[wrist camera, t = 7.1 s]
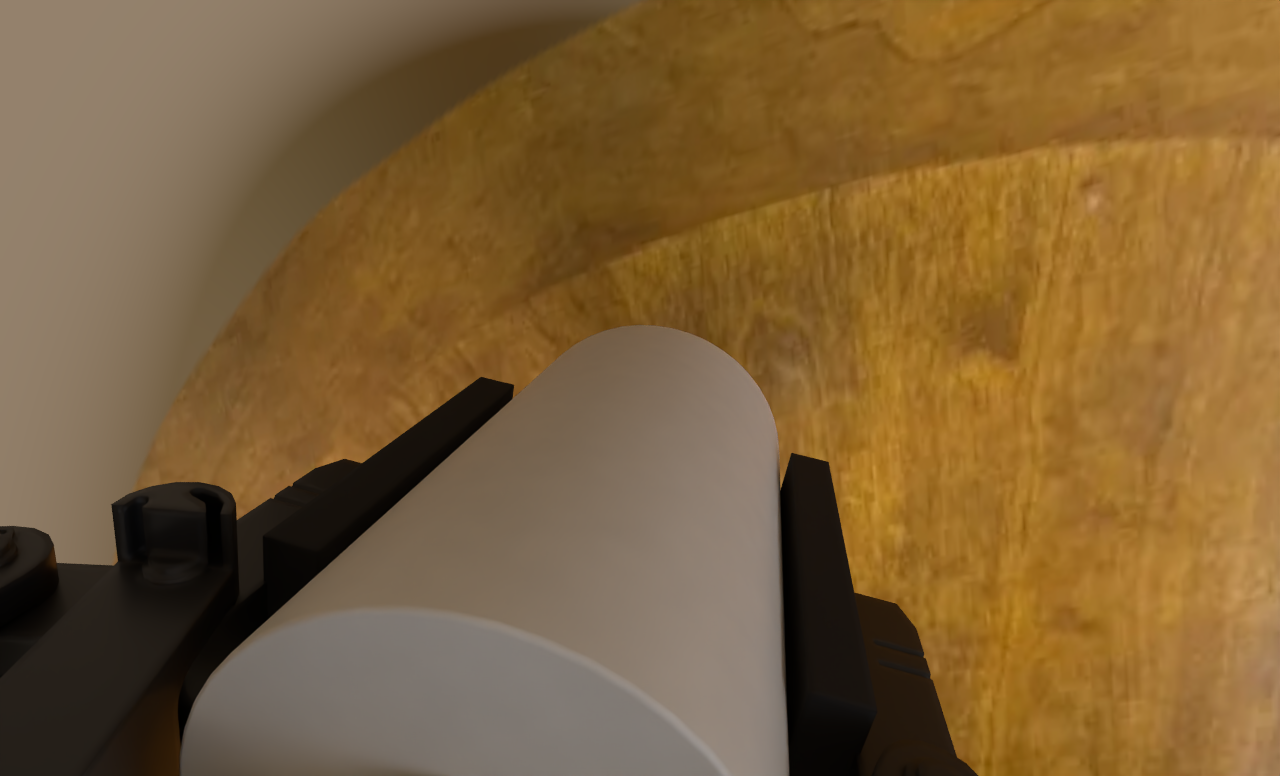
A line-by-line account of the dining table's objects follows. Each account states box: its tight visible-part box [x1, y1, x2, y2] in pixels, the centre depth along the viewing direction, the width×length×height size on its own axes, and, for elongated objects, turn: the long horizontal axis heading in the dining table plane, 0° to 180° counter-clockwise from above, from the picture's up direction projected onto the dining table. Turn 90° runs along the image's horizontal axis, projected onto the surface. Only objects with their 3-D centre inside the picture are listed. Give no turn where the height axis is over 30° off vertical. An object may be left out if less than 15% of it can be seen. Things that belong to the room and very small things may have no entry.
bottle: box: [179, 325, 789, 776], centre depth 9 cm, size 6×6×14 cm
